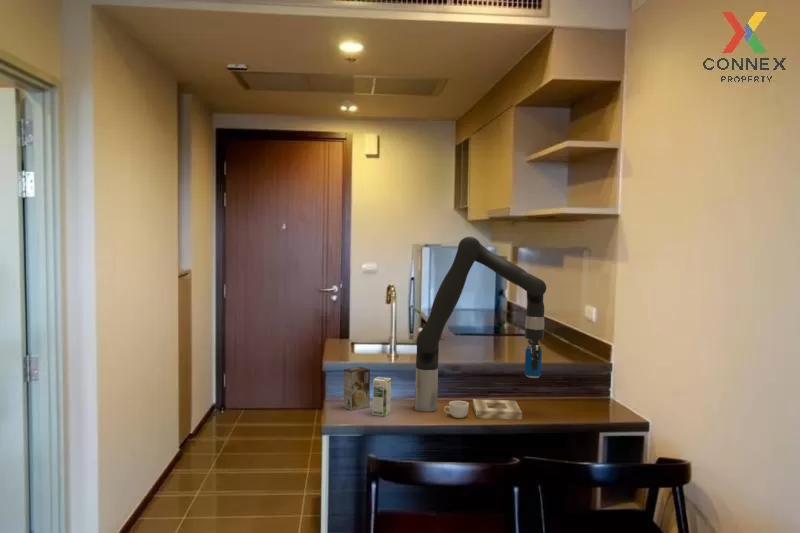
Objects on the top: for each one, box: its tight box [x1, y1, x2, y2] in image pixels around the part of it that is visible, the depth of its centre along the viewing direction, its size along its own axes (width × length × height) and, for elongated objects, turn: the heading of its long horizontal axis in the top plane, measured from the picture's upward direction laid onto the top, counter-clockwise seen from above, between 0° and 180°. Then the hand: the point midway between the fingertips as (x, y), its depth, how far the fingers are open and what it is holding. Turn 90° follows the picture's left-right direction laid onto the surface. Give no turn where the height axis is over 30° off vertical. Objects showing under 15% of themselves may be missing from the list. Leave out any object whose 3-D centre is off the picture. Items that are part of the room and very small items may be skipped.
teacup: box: [443, 400, 470, 419], centre depth 232 cm, size 10×8×5 cm
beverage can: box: [524, 346, 543, 379], centre depth 237 cm, size 6×6×12 cm
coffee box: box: [343, 366, 371, 411], centre depth 242 cm, size 9×6×16 cm
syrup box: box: [371, 376, 392, 417], centre depth 233 cm, size 6×6×14 cm
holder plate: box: [472, 398, 523, 420], centre depth 239 cm, size 18×16×3 cm
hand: (532, 367), depth 237 cm, fingers closed on beverage can, 6 cm apart
